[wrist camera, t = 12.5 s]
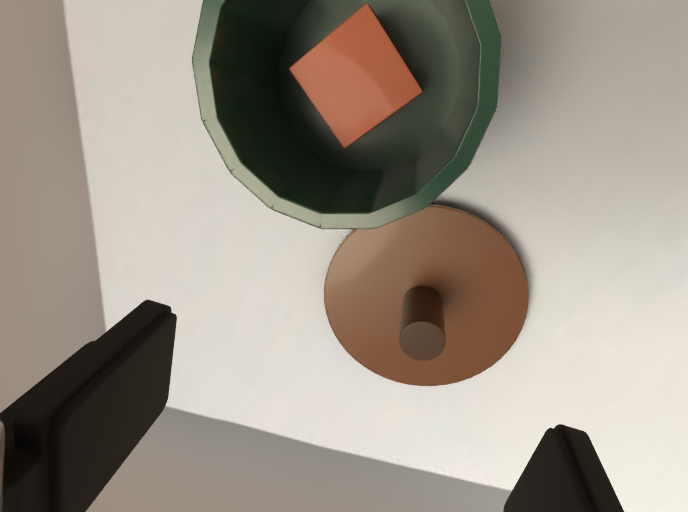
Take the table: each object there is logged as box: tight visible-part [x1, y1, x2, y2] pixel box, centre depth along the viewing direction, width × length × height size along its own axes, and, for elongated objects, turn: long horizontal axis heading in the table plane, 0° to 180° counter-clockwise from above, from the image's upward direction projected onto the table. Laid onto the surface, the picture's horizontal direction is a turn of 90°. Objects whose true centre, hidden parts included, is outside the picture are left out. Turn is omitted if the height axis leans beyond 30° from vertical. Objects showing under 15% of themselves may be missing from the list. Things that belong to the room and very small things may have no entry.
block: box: [289, 3, 423, 148], centre depth 25 cm, size 5×5×5 cm
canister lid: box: [324, 204, 528, 386], centre depth 30 cm, size 14×14×6 cm
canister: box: [192, 0, 501, 229], centre depth 23 cm, size 13×13×10 cm
